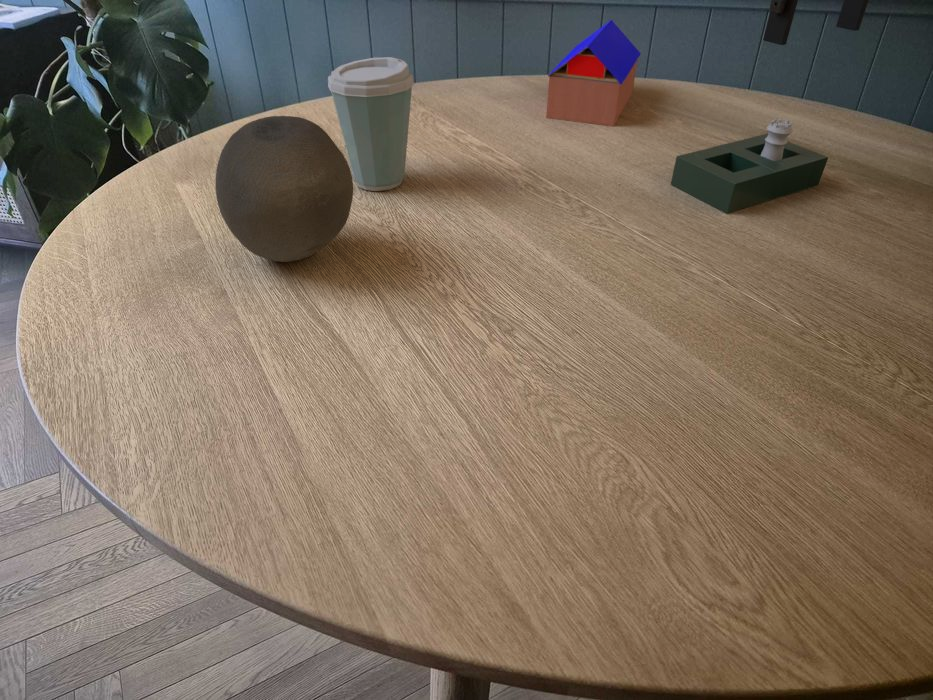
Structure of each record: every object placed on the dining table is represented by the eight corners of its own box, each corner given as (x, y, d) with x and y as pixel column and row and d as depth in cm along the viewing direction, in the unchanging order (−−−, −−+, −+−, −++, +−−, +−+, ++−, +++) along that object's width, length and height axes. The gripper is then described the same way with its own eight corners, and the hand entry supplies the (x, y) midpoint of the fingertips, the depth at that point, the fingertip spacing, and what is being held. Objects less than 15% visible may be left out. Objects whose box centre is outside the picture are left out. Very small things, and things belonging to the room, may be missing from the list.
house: (543, 118, 110) (549, 42, 103) (570, 84, 125) (577, 16, 118) (615, 127, 107) (626, 50, 100) (634, 91, 122) (645, 22, 114)
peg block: (759, 160, 96) (767, 133, 94) (818, 185, 89) (828, 157, 87) (670, 184, 89) (676, 155, 87) (726, 213, 82) (735, 183, 80)
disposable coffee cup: (357, 205, 84) (345, 82, 74) (326, 175, 91) (311, 60, 82) (431, 187, 88) (428, 69, 79) (396, 160, 95) (389, 49, 86)
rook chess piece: (783, 177, 91) (801, 119, 87) (779, 189, 88) (798, 130, 83) (749, 171, 93) (765, 114, 88) (744, 183, 90) (761, 124, 85)
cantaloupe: (214, 289, 68) (176, 147, 59) (251, 225, 79) (223, 97, 70) (351, 290, 68) (334, 149, 59) (368, 226, 79) (356, 99, 70)
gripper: (914, -188, 75) (848, 17, 88) (764, -190, 65) (715, 41, 78) (983, -190, 70) (902, 28, 83) (831, -192, 60) (767, 56, 73)
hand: (811, 35), depth 81 cm, fingers open, 13 cm apart
